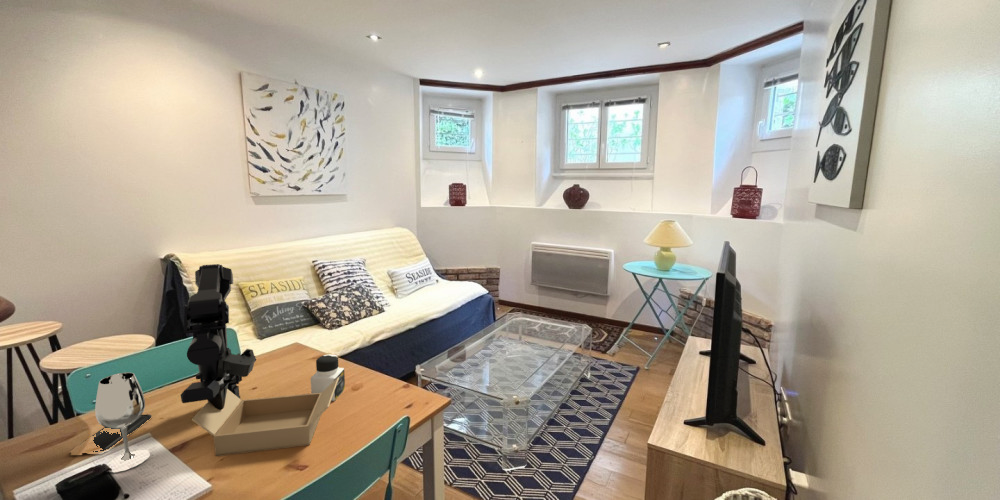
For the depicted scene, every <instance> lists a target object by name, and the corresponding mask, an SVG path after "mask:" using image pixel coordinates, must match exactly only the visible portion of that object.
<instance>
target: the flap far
mask: <svg viewBox="0 0 1000 500" xmlns="http://www.w3.org/2000/svg"><path fill="white" fill-rule="evenodd" d="M338 380H339V377H338V378H337V379H336V380H335V381H333V382H332V383H331V384H330V385H329V386H328V387H327V388H326V389H325V390H324V391H323V392H322V394H321V397H320V399H319V401H318V404H317V406H316V409H315V411H314V413H313V416H312V418H311V421H310V423H309V425H311V424H312V423H313V422H314V421H315V420H316V419H317V418H318V417H319V416H320V415H321V416H322V414H323V413H324V412H325V411H327V409H328V408H330V405H331V402H332V401H331V399H332V396H333V394H334V391H335V388H336V385H337V383H338Z"/></svg>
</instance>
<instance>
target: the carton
mask: <svg viewBox="0 0 1000 500" xmlns="http://www.w3.org/2000/svg"><path fill="white" fill-rule="evenodd" d="M321 394H322V393H303V394H301V393H300V394H292V395H280V396H271V397H269V396H268V397H261V398H250V399H241V401H240V403H239V404H238V405H237V407H236V408H235V409H234V410H233V412H232V413H231V414H230V415H229V417H228V418H227V419H226V421H225V422H224V423H223V424H222V426H221V427H220V428H219V429H218V431H217V432H216V433H215V435H213V442H214V444H213V445H214V453H215V455H214V456H215V457H221V456H229V455H238V454H246V453H255V452H261V451H262V452H264V451H271V450H278V449H287V448H295V447H304V446H310V445H311V443H312V441H313V440H312V439H313V438H314V435H315V431H316V430H317V427H318V425H319V421H320V420H321V419H320V418H321V417H322V414H321V415H320V416H319V417H318V418H317V419H316V420H315V421H314V422H313V423H312V424H311V425H309V423H310V421H311V418H312V416H313V413H314V411H315V409H316V406H317V404H318V401H319V399H320V397H321Z"/></svg>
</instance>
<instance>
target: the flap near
mask: <svg viewBox="0 0 1000 500" xmlns="http://www.w3.org/2000/svg"><path fill="white" fill-rule="evenodd" d="M241 401H242V399H241V397H240V398H238V397H237V396H236V395H235V394H233V393H232V392H231V391H230V390H228V389H227V393H226V399H225V405H224V408H223V409H222V410H219V409H217V408H215V407H214V406H213V405H212V404H211V403H210V402H209V401H208V400H207V402H206V403H205V404H204V405H203V406H202V408H200V410H199V411H198V412H197V413H196V414H195V415H193V417H192V419H191V421H192V422H194V423H195V424H197V426H199V427H201V429H203V430H205V431H206V432H207V433H209V435H211V436H214V435H215V434H216V433H217V432H218V430H219V429H220V428H221V426H222V425H223V424H224V423H225V421H226V420H227V419H228V418H229V416H230V415H231V414H232V412H233V411H234V410H235V409H236V407H237V406H238V405H239V403H240V402H241Z"/></svg>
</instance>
